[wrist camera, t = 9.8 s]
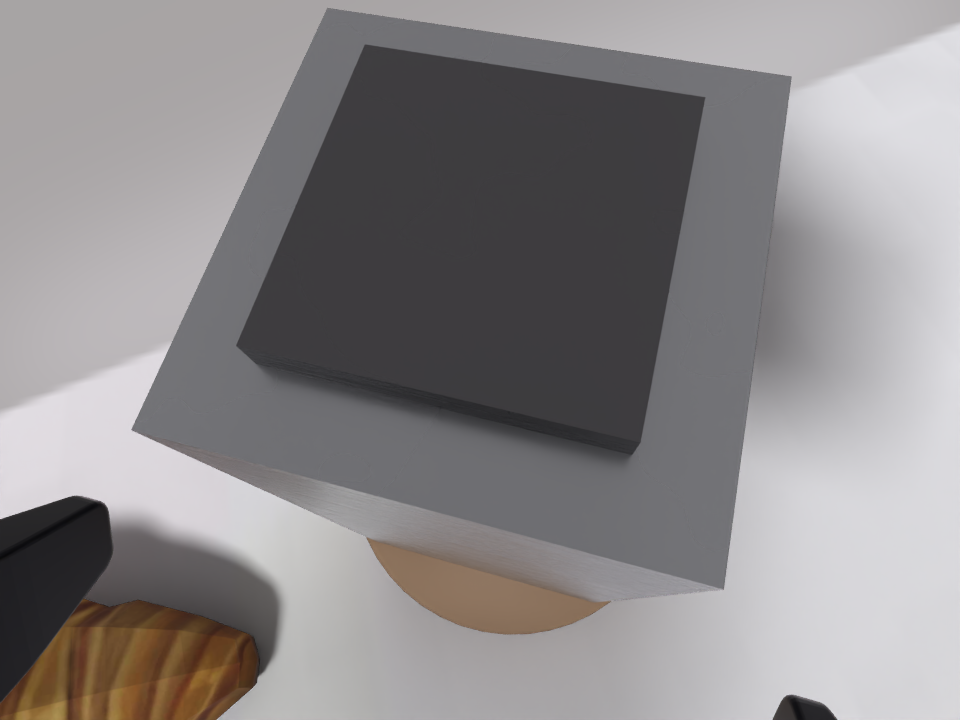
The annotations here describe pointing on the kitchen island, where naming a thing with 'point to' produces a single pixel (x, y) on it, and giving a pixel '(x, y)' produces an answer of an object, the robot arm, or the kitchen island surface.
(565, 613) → the walnut stand
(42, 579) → the robot arm
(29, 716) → the croissant
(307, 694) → the kitchen island surface
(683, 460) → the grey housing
